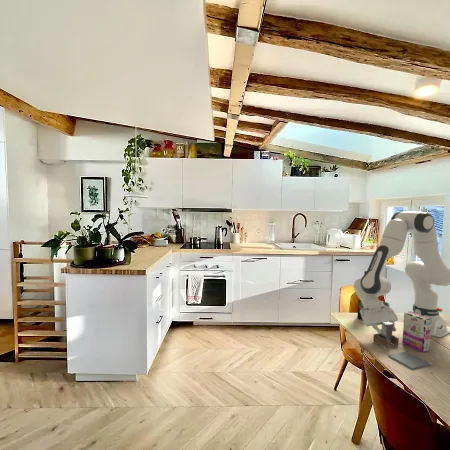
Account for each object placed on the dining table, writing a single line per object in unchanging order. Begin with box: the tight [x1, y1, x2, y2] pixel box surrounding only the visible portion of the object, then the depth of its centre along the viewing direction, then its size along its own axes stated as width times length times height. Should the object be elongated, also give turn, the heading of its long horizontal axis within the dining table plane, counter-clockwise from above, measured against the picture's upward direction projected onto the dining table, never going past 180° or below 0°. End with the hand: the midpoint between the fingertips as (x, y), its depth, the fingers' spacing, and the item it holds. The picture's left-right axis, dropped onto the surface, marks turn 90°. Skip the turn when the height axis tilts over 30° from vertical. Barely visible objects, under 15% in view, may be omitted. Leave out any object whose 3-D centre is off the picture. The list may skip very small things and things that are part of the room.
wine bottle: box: [356, 270, 367, 322], centre depth 187 cm, size 8×8×30 cm
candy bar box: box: [401, 311, 432, 353], centre depth 151 cm, size 11×5×16 cm, turn 23°
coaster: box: [387, 350, 432, 370], centre depth 138 cm, size 12×12×1 cm
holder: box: [372, 333, 400, 349], centre depth 154 cm, size 9×7×4 cm
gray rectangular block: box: [380, 322, 393, 346], centre depth 154 cm, size 4×3×11 cm
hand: (387, 332), depth 153 cm, fingers open, 8 cm apart
